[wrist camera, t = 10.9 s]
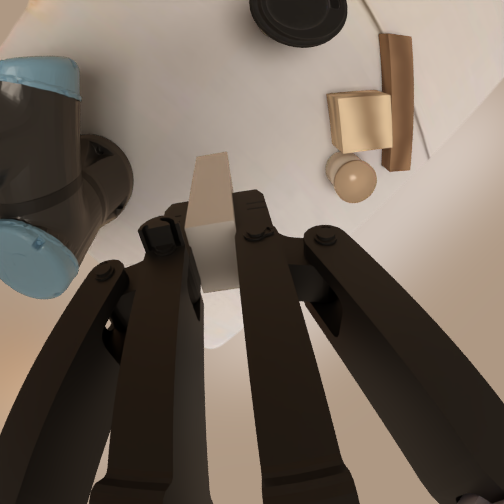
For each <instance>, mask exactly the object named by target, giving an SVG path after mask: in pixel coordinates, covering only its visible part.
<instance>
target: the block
mask: <svg viewBox="0 0 504 504" xmlns="http://www.w3.org/2000/svg"><path fill="white" fill-rule="evenodd" d="M327 102H328V109H329V118H330V126H331V135H332V144H333V145H334V146H335V147H336V148H337V149H338V150H340V151H341V152H342V153H343V154H346V153H353V152H360V151H367V150H375V149H383V148H392V113H391V96H390V95H389V94H386V93H383V92H380V91H377V90H366V91H352V92H340V93H330V94H327Z"/></svg>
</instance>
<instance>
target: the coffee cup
mask: <svg viewBox="0 0 504 504" xmlns="http://www.w3.org/2000/svg"><path fill="white" fill-rule="evenodd" d="M249 4H250V11H251V14H252V17H253V19H254V21H255V22H256V24H257V25H258V27H259V28H260V30H261V31H262V32H263V33H264V34H265V35H267V36H269V37H270V38H272V39H273V40H275V41H277V42H279V43H282V44H285V45H288V46H292V47H300V48H307V47H314V46H318V45H321V44H324V43H326V42H328V41H329V40H331V39H332V38H333V37H335V36H336V35H337V34H338V33H339V32H340V30H341V29H342V28H343V26H344V24H345V21H346V18H347V2H346V0H249Z"/></svg>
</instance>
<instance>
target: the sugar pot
mask: <svg viewBox="0 0 504 504" xmlns="http://www.w3.org/2000/svg"><path fill="white" fill-rule="evenodd" d="M325 170H326V175H327V177H328V179H329V180H330V182H331V183H332V184H333V186H334V189H335V191H336V193H337V194H338V196H339V197H340V198H341V199H342V200H344V201H346V202H349V203H358V202H361V201H363V200H365V199H367V198H368V197H369V196H370V195H371V194H372V193H373V191H374V189H375V187H376V183H377V177H376V173H375V171H374V169H373V168H372V167H371V166H370V165H369V164H368V163H367V162H365V161H362V160H361V159H359V158H358V157H357V156H356V155H355V154H354V153H346V154H343V153H342V152H341V151H339V152H336V153H335V154H333V155H332V156H331V157H330V158H329V160H328V161H327V164H326V169H325Z"/></svg>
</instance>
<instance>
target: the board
mask: <svg viewBox="0 0 504 504" xmlns="http://www.w3.org/2000/svg"><path fill="white" fill-rule="evenodd" d="M379 42H380V55H381V71H382V92H383V93H386V94H389V95H390V96H391V113H392V148H383V149H382V166H384V167H385V168H386V169H387V170H388V171H389V172H393V171H405V170H410V165H411V153H412V138H413V113H414V76H413V52H412V38H411V37H410V36H403V35H396V34H379Z"/></svg>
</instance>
